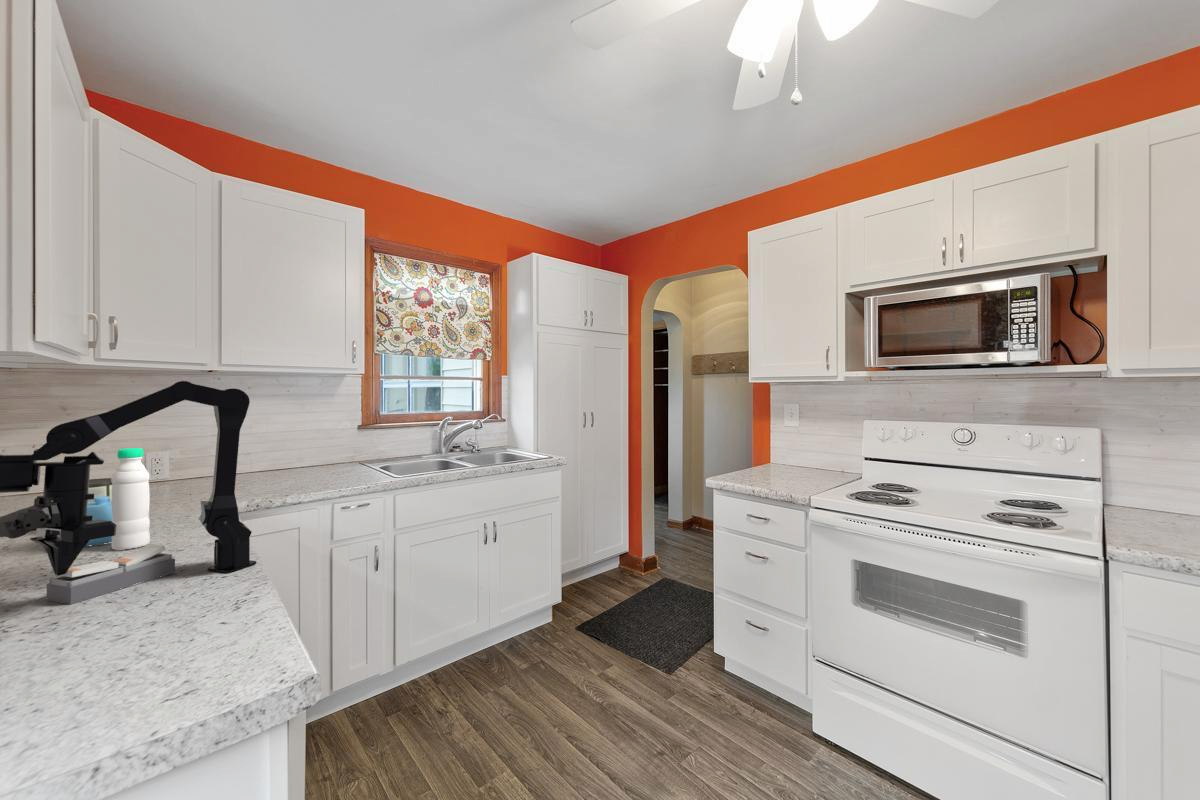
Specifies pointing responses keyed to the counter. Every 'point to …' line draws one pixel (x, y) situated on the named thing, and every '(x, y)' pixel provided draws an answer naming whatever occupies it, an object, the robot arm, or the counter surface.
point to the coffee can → (100, 488)
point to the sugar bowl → (100, 516)
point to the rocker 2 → (140, 555)
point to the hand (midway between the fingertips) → (60, 574)
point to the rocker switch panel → (108, 579)
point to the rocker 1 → (90, 568)
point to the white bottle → (130, 501)
